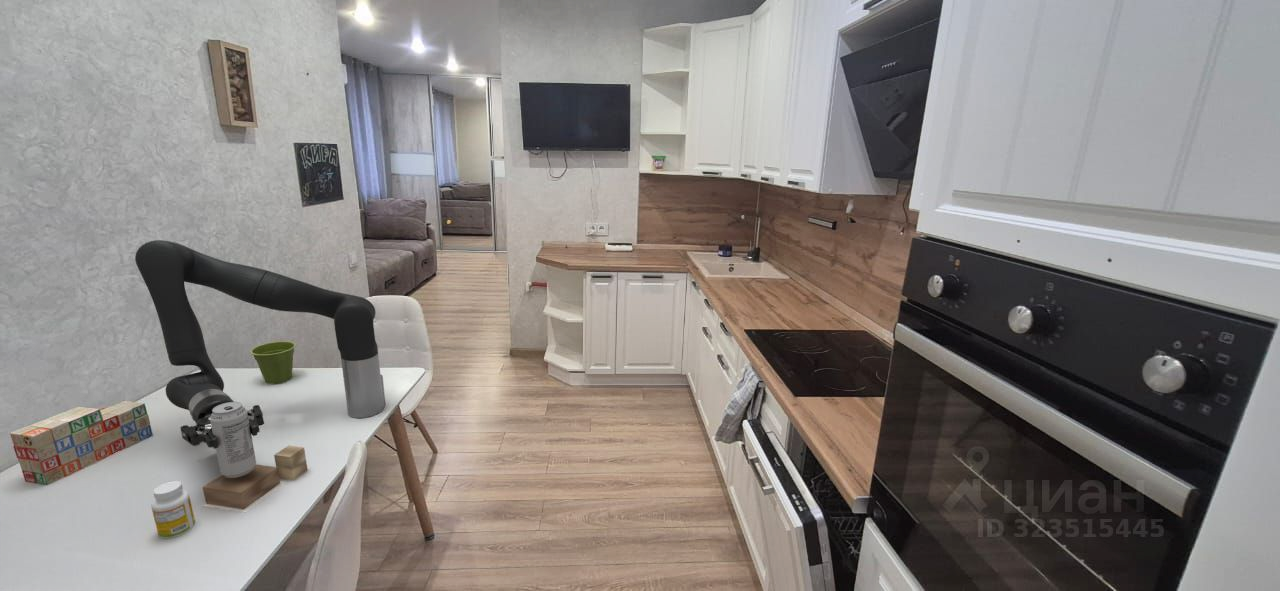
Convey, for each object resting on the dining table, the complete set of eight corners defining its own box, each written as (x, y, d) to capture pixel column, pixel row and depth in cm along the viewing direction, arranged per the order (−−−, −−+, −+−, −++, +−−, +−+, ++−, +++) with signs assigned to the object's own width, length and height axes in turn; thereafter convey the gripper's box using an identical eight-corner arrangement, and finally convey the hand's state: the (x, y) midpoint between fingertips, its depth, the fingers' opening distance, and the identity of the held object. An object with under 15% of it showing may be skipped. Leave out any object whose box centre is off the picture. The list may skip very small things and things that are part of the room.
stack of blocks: (133, 432, 132) (122, 389, 129) (153, 435, 131) (143, 392, 128) (24, 482, 111) (8, 432, 108) (47, 486, 110) (31, 435, 107)
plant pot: (248, 381, 162) (243, 348, 159) (289, 370, 172) (284, 338, 169) (266, 391, 156) (260, 357, 153) (307, 378, 166) (303, 346, 163)
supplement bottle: (173, 521, 101) (163, 478, 99) (202, 520, 102) (193, 478, 99) (151, 540, 96) (139, 496, 94) (181, 539, 97) (171, 495, 94)
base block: (244, 478, 115) (242, 462, 113) (280, 483, 113) (277, 467, 112) (206, 503, 106) (202, 487, 105) (243, 509, 105) (240, 492, 104)
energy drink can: (248, 459, 112) (237, 397, 108) (262, 468, 109) (251, 405, 105) (215, 473, 107) (202, 408, 103) (229, 483, 104) (216, 417, 100)
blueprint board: (266, 465, 120) (265, 464, 120) (307, 471, 118) (307, 469, 118) (199, 510, 105) (199, 508, 104) (246, 517, 103) (245, 515, 103)
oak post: (292, 468, 119) (288, 445, 117) (307, 470, 118) (304, 447, 117) (278, 478, 115) (274, 454, 113) (293, 480, 114) (289, 457, 113)
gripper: (167, 405, 108) (186, 434, 98) (249, 384, 119) (274, 408, 109) (174, 437, 110) (194, 468, 100) (254, 413, 121) (279, 440, 111)
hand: (235, 437), depth 104 cm, fingers closed on energy drink can, 6 cm apart
